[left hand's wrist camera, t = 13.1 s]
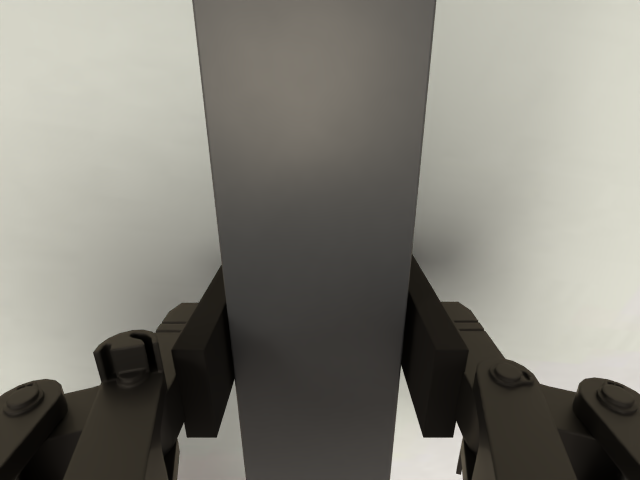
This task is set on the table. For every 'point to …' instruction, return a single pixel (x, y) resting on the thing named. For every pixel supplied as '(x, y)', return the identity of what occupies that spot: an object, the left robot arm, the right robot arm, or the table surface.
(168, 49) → the table surface
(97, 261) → the table surface
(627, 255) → the table surface
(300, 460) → the plank
